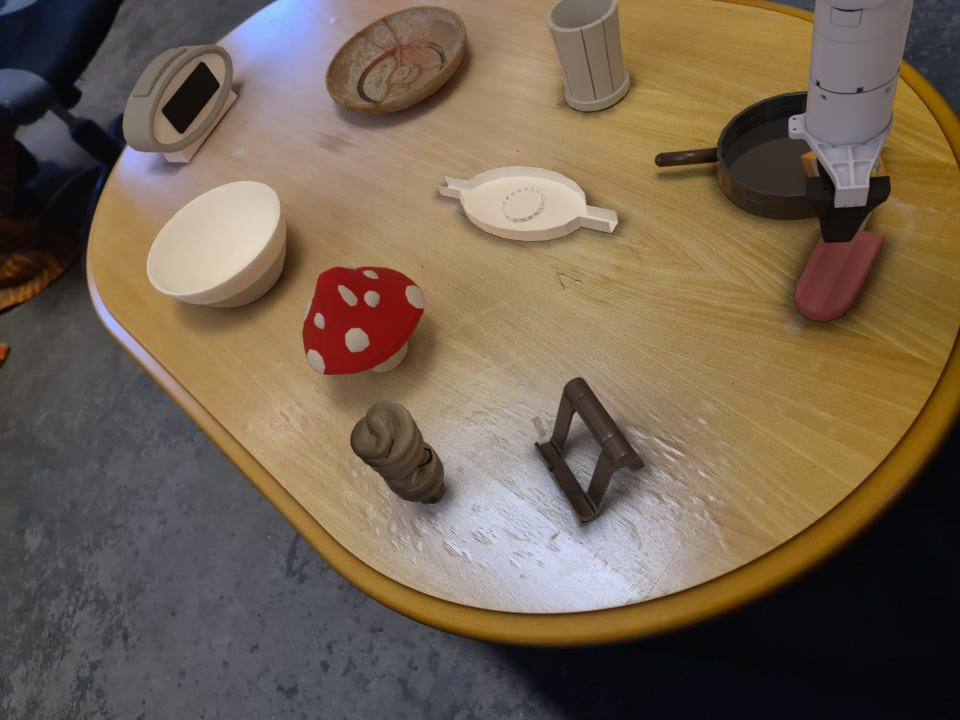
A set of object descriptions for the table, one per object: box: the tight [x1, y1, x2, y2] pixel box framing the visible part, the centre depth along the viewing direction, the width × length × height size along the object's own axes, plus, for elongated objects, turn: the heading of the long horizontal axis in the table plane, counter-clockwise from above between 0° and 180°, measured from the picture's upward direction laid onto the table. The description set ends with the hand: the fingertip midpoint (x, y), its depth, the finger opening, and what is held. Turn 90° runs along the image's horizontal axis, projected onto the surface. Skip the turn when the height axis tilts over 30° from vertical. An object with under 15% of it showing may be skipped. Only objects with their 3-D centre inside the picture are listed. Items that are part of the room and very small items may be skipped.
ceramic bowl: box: [324, 5, 468, 115], centre depth 108 cm, size 23×24×5 cm
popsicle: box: [794, 210, 885, 322], centre depth 68 cm, size 5×2×15 cm
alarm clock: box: [122, 43, 238, 163], centre depth 116 cm, size 23×6×13 cm, turn 158°
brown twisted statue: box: [349, 399, 447, 505], centre depth 62 cm, size 6×6×15 cm
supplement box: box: [801, 151, 888, 177], centre depth 68 cm, size 3×3×10 cm
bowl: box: [146, 180, 287, 308], centre depth 92 cm, size 19×19×8 cm
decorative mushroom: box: [301, 263, 427, 376], centre depth 74 cm, size 14×14×15 cm
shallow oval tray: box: [436, 165, 619, 242], centre depth 85 cm, size 10×25×2 cm, turn 58°
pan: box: [716, 90, 818, 221], centre depth 75 cm, size 16×16×4 cm
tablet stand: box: [533, 376, 645, 525], centre depth 61 cm, size 9×8×8 cm
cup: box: [545, 0, 631, 112], centre depth 90 cm, size 10×9×12 cm
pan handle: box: [654, 147, 725, 168], centre depth 79 cm, size 8×2×2 cm, turn 78°
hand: (834, 205), depth 59 cm, fingers open, 7 cm apart
